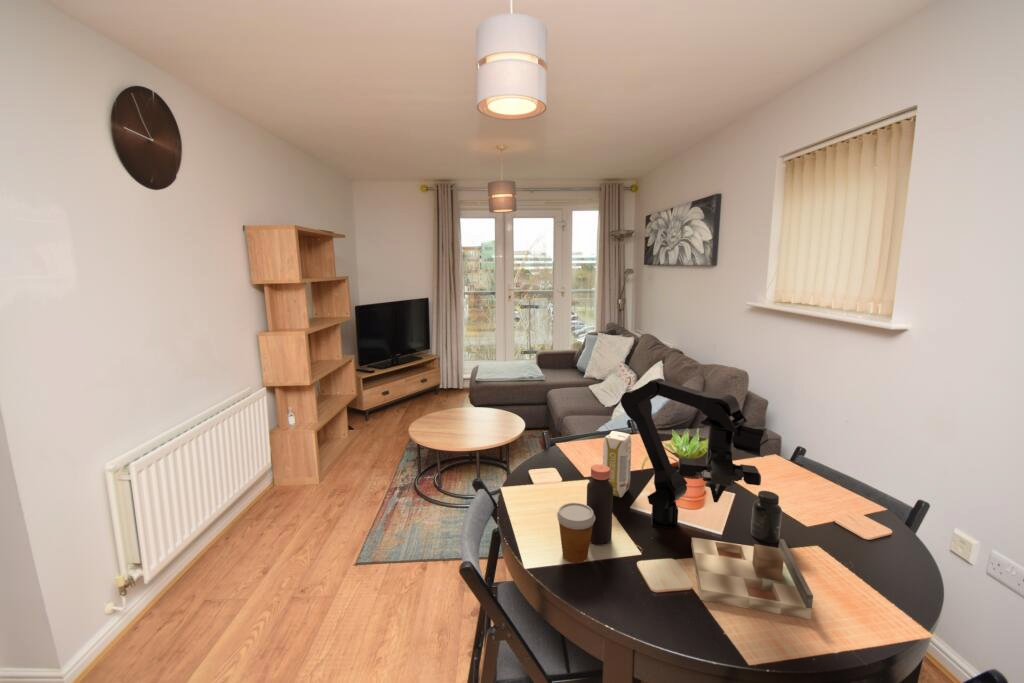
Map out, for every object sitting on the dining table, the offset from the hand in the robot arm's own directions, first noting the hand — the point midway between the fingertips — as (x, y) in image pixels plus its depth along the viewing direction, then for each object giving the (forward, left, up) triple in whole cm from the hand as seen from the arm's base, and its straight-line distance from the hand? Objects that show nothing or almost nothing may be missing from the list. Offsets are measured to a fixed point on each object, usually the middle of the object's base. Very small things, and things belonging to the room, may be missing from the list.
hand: (715, 501), depth 116 cm
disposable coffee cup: (-34, -15, -12) cm, 39 cm away
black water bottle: (-29, -6, -12) cm, 32 cm away
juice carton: (-26, +22, -12) cm, 36 cm away
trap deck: (+5, -13, -12) cm, 18 cm away
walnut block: (+10, -13, -9) cm, 18 cm away
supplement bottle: (+14, +7, -12) cm, 20 cm away
